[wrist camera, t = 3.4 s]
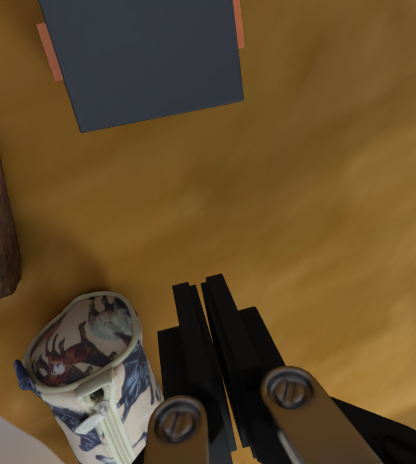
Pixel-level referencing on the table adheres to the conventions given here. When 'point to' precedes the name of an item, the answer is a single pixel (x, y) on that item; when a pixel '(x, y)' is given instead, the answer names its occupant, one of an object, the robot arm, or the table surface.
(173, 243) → the table surface
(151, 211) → the table surface
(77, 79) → the lunchbox
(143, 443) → the pencil case
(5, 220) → the brick
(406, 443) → the robot arm
